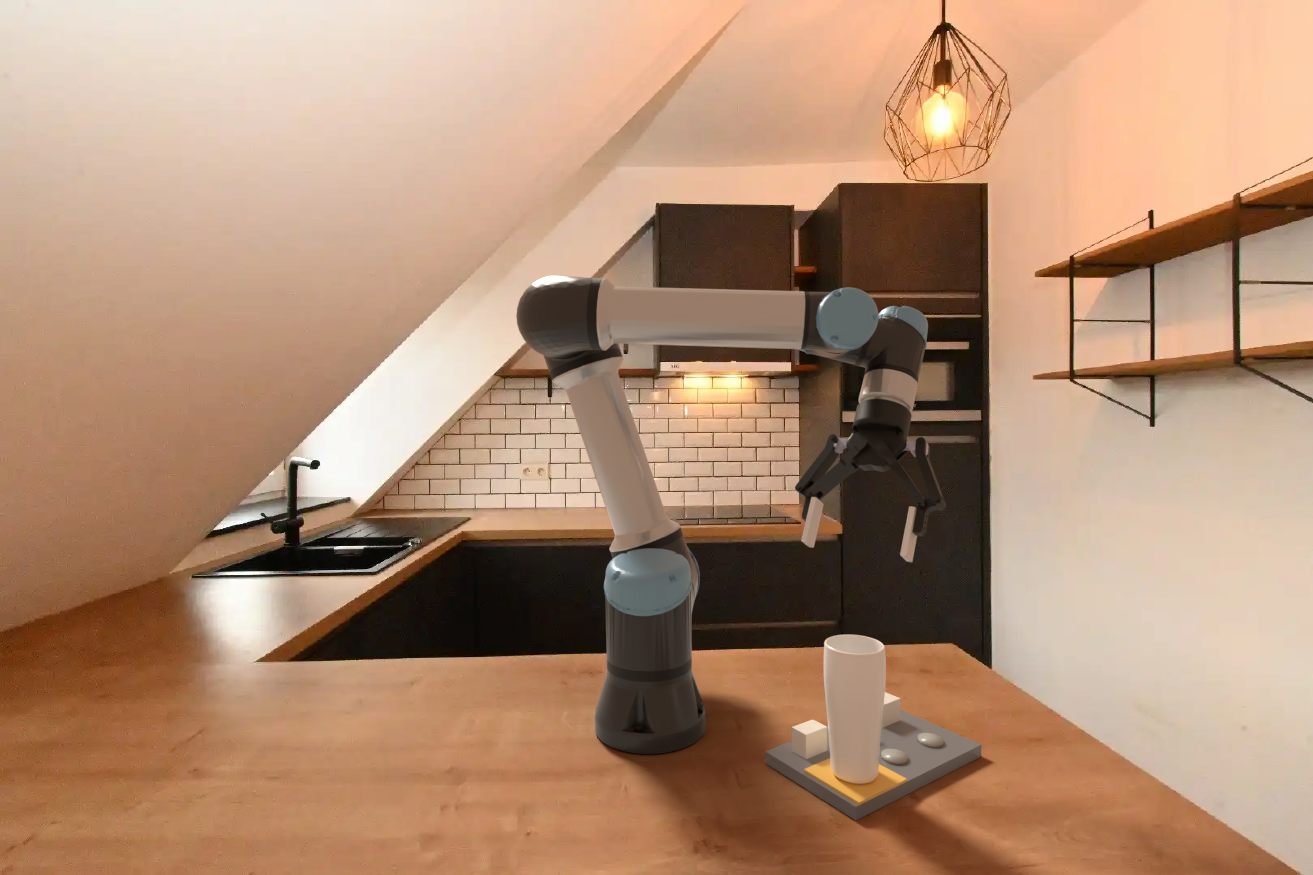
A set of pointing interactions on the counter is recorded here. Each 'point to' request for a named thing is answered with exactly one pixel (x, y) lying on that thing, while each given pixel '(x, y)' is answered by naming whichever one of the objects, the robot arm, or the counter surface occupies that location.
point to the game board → (904, 760)
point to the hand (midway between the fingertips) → (854, 551)
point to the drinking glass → (854, 705)
